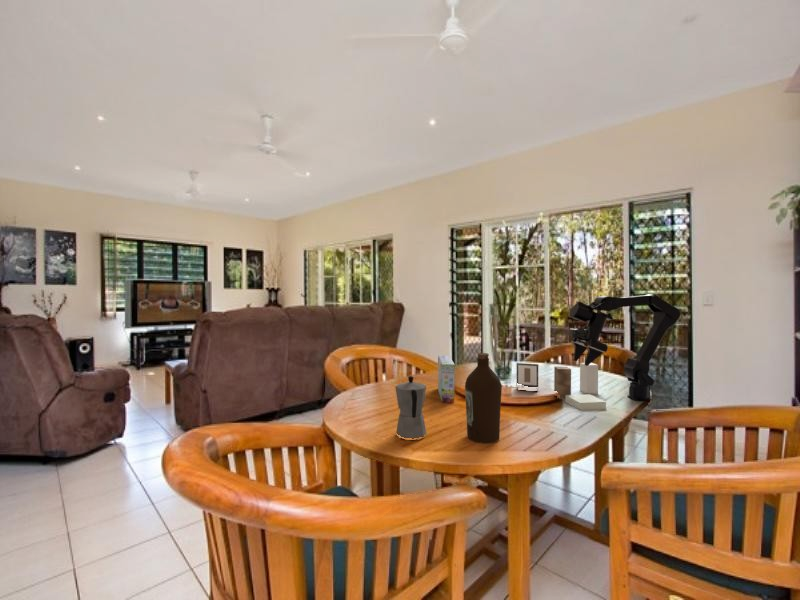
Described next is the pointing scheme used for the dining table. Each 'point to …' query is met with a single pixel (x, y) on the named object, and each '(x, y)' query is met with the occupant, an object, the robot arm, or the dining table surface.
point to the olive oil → (483, 402)
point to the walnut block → (562, 381)
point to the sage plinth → (585, 402)
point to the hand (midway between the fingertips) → (580, 363)
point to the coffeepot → (411, 409)
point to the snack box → (446, 378)
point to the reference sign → (527, 374)
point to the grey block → (589, 378)
